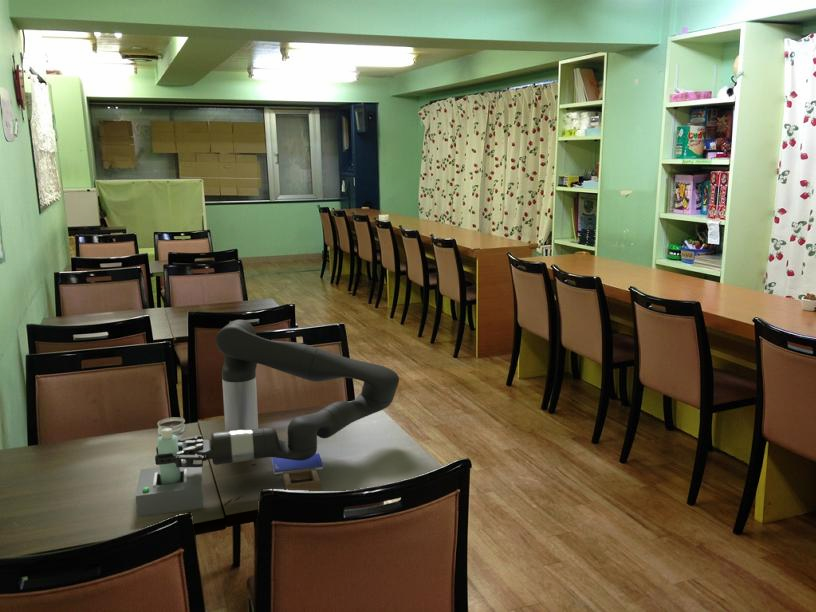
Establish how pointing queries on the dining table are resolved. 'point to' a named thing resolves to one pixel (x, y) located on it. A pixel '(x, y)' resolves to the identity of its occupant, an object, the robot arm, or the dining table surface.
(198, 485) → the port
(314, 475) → the box
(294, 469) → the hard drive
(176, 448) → the mint green bottle
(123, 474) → the dining table surface
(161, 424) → the wineglass
